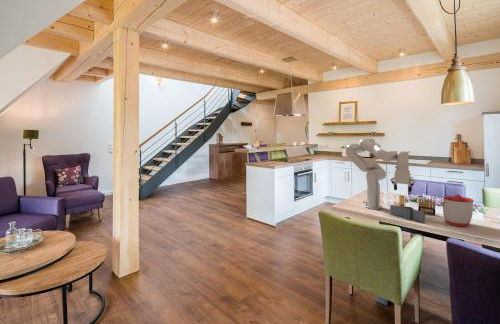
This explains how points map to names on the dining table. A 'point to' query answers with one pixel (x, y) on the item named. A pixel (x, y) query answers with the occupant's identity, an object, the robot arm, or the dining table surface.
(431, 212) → the ammunition clip
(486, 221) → the dining table surface
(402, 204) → the hinge pin
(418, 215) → the hinge
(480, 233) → the dining table surface
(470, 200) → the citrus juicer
